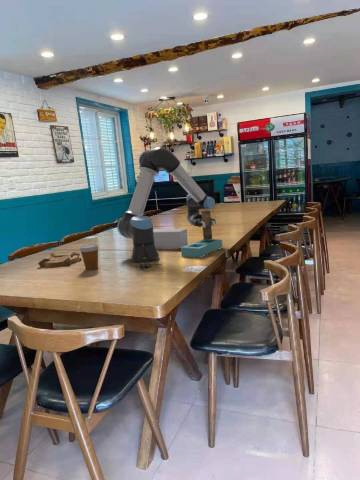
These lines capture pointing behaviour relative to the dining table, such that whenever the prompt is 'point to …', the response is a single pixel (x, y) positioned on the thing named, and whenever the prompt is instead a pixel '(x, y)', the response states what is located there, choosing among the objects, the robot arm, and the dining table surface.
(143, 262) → the eiffel tower figurine
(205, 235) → the walnut pin
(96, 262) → the disposable coffee cup
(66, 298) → the dining table surface
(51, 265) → the brown flat irregular piece
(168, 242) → the stack of papers
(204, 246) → the bore block
